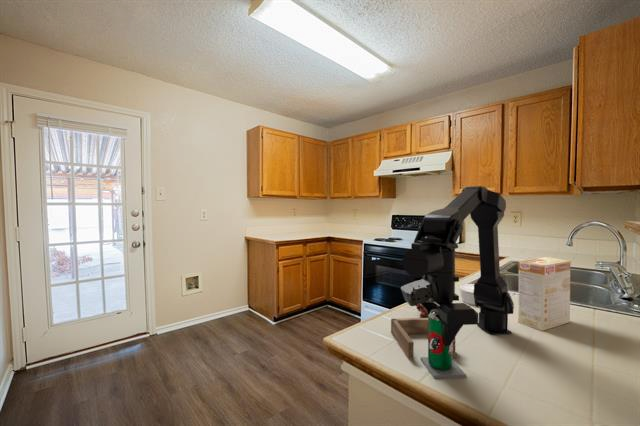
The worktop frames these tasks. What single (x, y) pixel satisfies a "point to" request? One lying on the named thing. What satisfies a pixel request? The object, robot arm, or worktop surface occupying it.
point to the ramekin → (467, 293)
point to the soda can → (438, 344)
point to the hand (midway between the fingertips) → (440, 338)
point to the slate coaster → (451, 373)
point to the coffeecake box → (544, 292)
